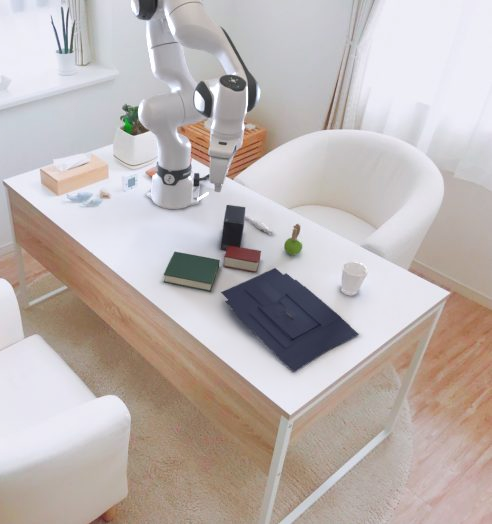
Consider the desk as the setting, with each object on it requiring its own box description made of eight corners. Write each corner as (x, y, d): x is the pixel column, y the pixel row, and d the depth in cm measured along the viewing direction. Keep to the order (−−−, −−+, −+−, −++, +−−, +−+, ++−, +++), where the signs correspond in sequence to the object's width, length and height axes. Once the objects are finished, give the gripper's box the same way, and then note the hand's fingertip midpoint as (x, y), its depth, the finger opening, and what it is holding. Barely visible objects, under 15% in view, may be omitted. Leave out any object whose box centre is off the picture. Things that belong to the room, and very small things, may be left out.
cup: (331, 292, 164) (337, 269, 159) (346, 275, 171) (352, 253, 166) (355, 302, 161) (362, 279, 156) (369, 284, 167) (376, 262, 162)
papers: (277, 272, 169) (280, 263, 167) (356, 340, 152) (360, 331, 149) (213, 301, 158) (215, 292, 156) (290, 379, 141) (293, 369, 138)
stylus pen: (275, 234, 188) (276, 229, 187) (269, 237, 187) (270, 232, 186) (243, 214, 198) (243, 210, 197) (237, 217, 197) (238, 212, 195)
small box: (240, 252, 180) (244, 223, 174) (219, 249, 181) (222, 221, 175) (242, 234, 188) (246, 206, 182) (222, 231, 189) (225, 204, 183)
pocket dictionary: (227, 255, 178) (228, 245, 176) (259, 261, 176) (261, 250, 174) (223, 266, 174) (224, 255, 171) (256, 272, 171) (258, 262, 169)
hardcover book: (174, 259, 177) (174, 251, 175) (219, 267, 173) (219, 259, 171) (163, 282, 167) (163, 274, 166) (210, 291, 164) (211, 283, 162)
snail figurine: (280, 257, 178) (286, 224, 171) (285, 246, 182) (291, 214, 175) (297, 261, 176) (304, 228, 169) (302, 251, 181) (309, 218, 173)
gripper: (222, 121, 164) (217, 164, 173) (207, 152, 149) (202, 198, 157) (244, 124, 163) (238, 167, 171) (231, 156, 147) (225, 202, 156)
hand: (221, 182), depth 164 cm, fingers open, 8 cm apart
